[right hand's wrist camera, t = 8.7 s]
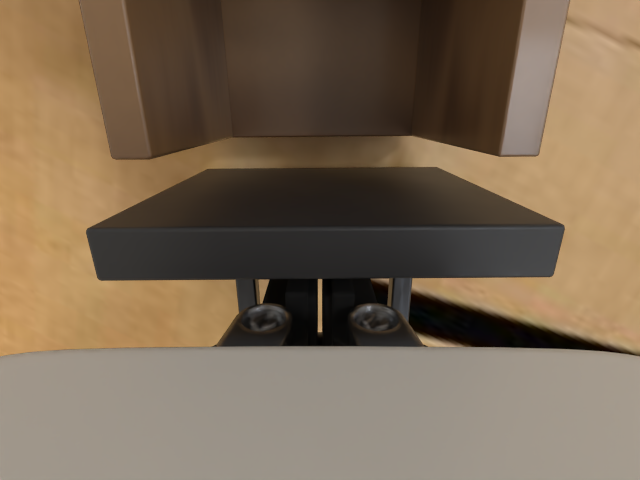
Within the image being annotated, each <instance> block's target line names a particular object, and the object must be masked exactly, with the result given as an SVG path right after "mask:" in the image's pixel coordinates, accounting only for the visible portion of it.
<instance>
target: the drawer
mask: <svg viewBox="0 0 640 480" xmlns="http://www.w3.org/2000/svg"><path fill="white" fill-rule="evenodd" d="M569 3H570V0H79V4H80V8H81V13H82V18H83V23H84V28H85V32H86V37H87V42H88V47H89V51H90V56H91V61H92V66H93V71H94V75H95V80H96V85H97V90H98V95H99V99H100V104H101V109H102V114H103V119H104V123H105V128H106V133H107V138H108V143H109V147H110V152H111V156H112V158H113V159H116V160H136V159H153V158H156V157H160V156H164V155H168V154H171V153H175V152H179V151H183V150H186V149H190V148H194V147H198V146H201V145H205V144H209V143H212V142H216V141H220V140H224V139H227V138H231V137H329V136H415V137H419V138H423V139H428V140H432V141H436V142H440V143H444V144H449V145H453V146H457V147H461V148H465V149H470V150H474V151H478V152H482V153H486V154H491V155H495V156H499V157H516V156H538V155H539V152H540V147H541V142H542V137H543V132H544V127H545V122H546V117H547V112H548V107H549V102H550V97H551V92H552V87H553V82H554V77H555V73H556V68H557V63H558V58H559V53H560V48H561V43H562V38H563V33H564V28H565V23H566V18H567V13H568V8H569ZM564 230H565V228H564V225H563V224H560V223H558V222H556V221H554V220H552V219H549V218H547V217H545V216H543V215H541V214H538V213H536V212H534V211H532V210H530V209H527V208H525V207H523V206H521V205H519V204H516V203H514V202H512V201H510V200H508V199H506V198H503V197H501V196H499V195H497V194H495V193H492V192H490V191H488V190H486V189H484V188H481V187H479V186H477V185H475V184H473V183H470V182H468V181H466V180H464V179H462V178H459V177H457V176H455V175H453V174H451V173H448V172H446V171H444V170H442V169H440V168H437V167H391V168H271V169H207V170H205V171H203V172H201V173H199V174H197V175H195V176H193V177H191V178H189V179H187V180H185V181H183V182H181V183H179V184H177V185H175V186H173V187H171V188H169V189H167V190H165V191H162V192H160V193H158V194H156V195H154V196H152V197H150V198H148V199H146V200H144V201H142V202H140V203H138V204H136V205H134V206H132V207H130V208H128V209H126V210H124V211H122V212H120V213H118V214H116V215H114V216H112V217H110V218H108V219H106V220H104V221H102V222H100V223H98V224H96V225H94V226H92V227H90V228H88V229H87V230H86V234H87V238H88V242H89V246H90V250H91V254H92V258H93V262H94V266H95V270H96V274H97V278H98V279H99V280H101V281H105V280H234V279H236V287H237V297H238V307H239V313H240V312H241V311H242V310H244V309H246V308H247V307H250V306H253V305H257V304H260V296H259V282H258V279H363V278H389V292H388V306H390V307H393V308H394V309H396V310H398V311H399V312H400V313H401V314H402V315H403V316H404V317H405V319H406V320H407V322H408V319H409V308H410V297H411V286H412V278H491V277H551V276H553V274H554V271H555V267H556V262H557V258H558V254H559V250H560V246H561V242H562V238H563V234H564ZM317 346H323V340H322V332H318V337H317Z"/></svg>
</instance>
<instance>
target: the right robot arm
mask: <svg viewBox="0 0 640 480" xmlns="http://www.w3.org/2000/svg"><path fill="white" fill-rule="evenodd" d="M317 337H318V279H270V280H269V283H268V287H267V290H266V293H265V297H264V300H263V303H262V304H257V305H253V306H250V307H247V308H246V309H244V310H242V311H241V312H240V313H239V314H238V315H237V316H236V317H235V319H234V320H233V322H232V323H231V325H230V326H229V328H228V329H227V331H226V332H225V333H224V335H223V336H222V338H221V339H220V341H219V342H218V344H217V345H215V346H212V347H153V348H102V349H68V350H53V351H38V352H28V353H20V354H12V355H6V356H0V480H640V356H634V355H628V354H620V353H611V352H603V351H587V350H570V349H538V348H496V347H427V346H425V345H423V344H422V342H421V341H420V339H419V338H418V336H417V335H416V333H415V332H414V331H413V329H412V328H411V326H410V325H409V323H408V322H407V320H406V319H405V317H404V316H403V315H402V314H401V313H400V312H399V311H398V310H396V309H394V308H393V307H390V306H387V305H383V304H378V303H377V300H376V297H375V294H374V290H373V287H372V284H371V280H370V278H363V279H322V340H323V346H317Z"/></svg>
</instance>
